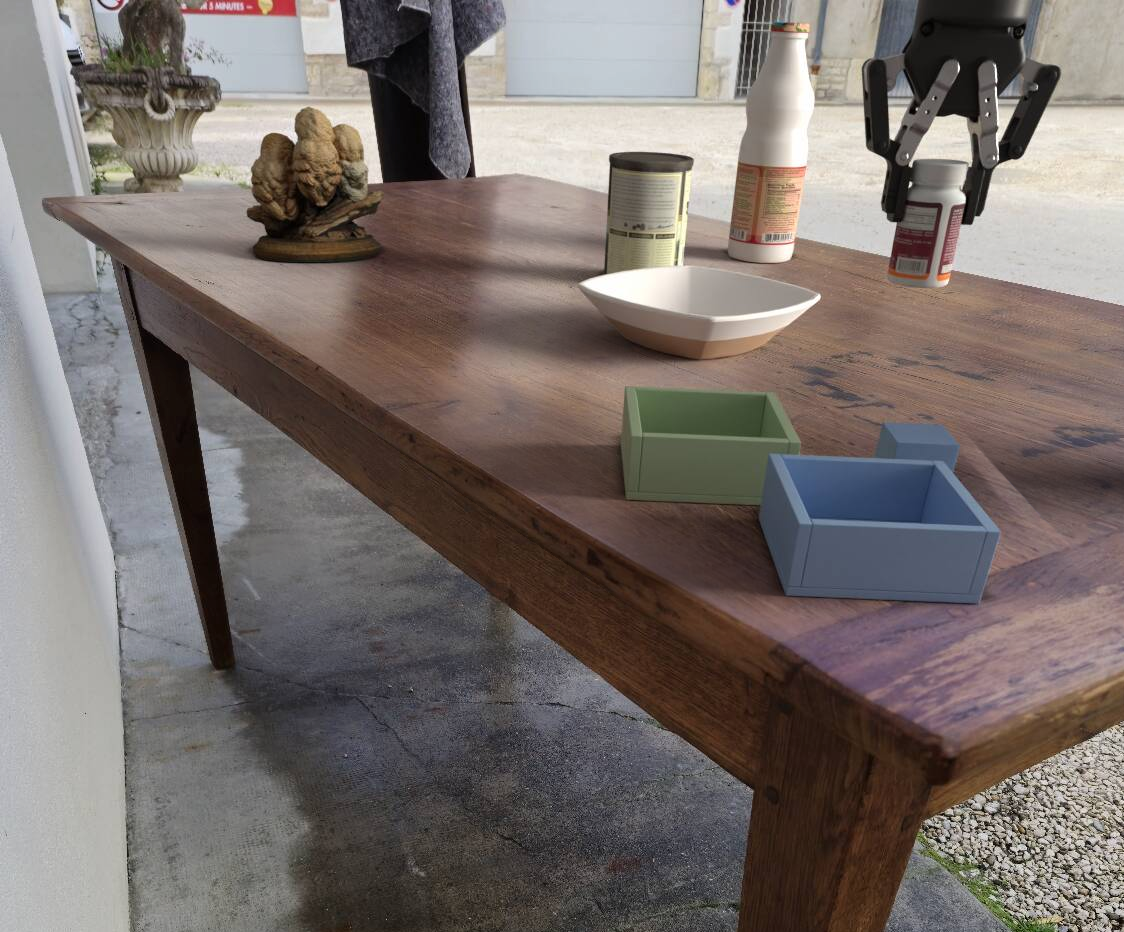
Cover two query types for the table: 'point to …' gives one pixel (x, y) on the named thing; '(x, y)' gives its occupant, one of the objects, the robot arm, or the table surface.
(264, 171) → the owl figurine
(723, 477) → the green bin
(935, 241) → the pill bottle
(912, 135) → the robot arm
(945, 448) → the blue block
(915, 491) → the blue bin
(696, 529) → the table surface
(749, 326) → the bowl
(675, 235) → the coffee can
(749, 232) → the fruit juice
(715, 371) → the table surface
